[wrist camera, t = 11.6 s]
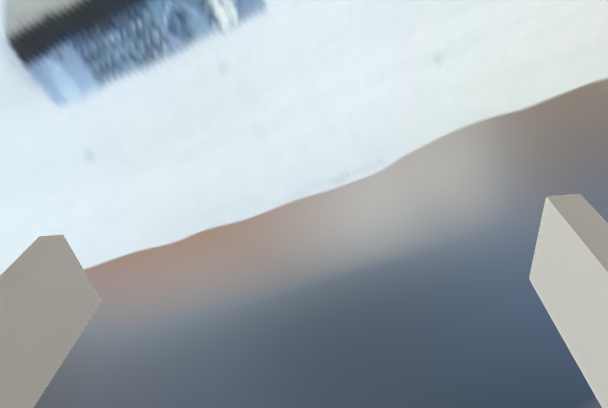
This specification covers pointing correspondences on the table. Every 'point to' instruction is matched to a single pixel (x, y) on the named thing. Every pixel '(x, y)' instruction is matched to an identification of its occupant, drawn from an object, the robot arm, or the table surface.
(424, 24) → the table surface
